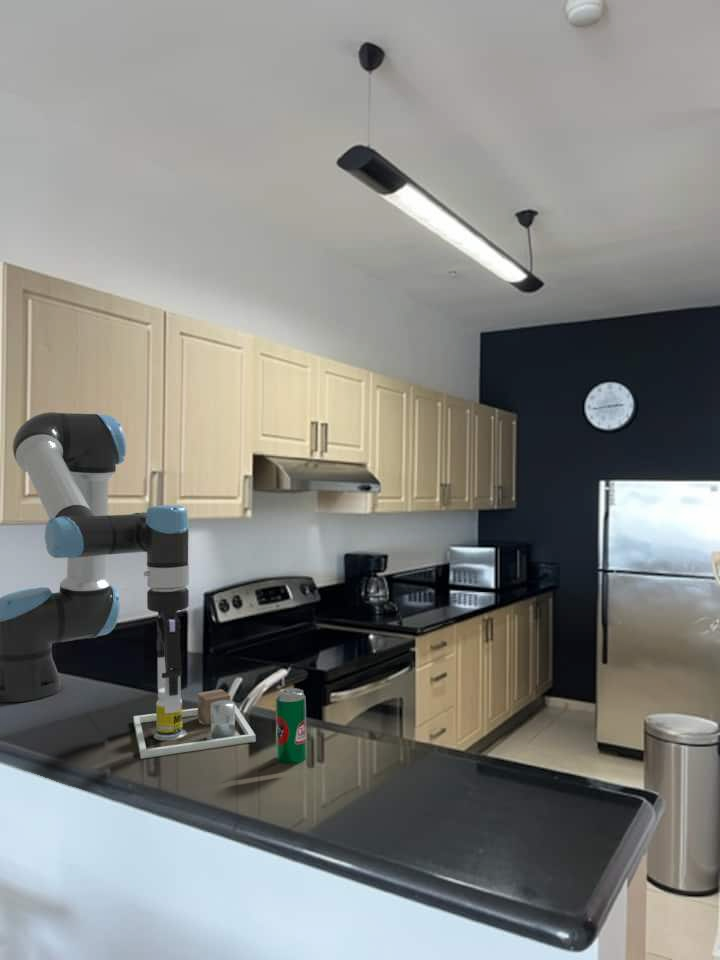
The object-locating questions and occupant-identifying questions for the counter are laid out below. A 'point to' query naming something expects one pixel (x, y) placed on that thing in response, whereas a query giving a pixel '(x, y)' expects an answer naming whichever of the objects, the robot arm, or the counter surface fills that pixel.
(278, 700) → the soda can
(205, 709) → the walnut block
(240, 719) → the collection tray
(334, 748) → the counter surface
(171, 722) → the supplement bottle
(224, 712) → the translucent grey cylinder
